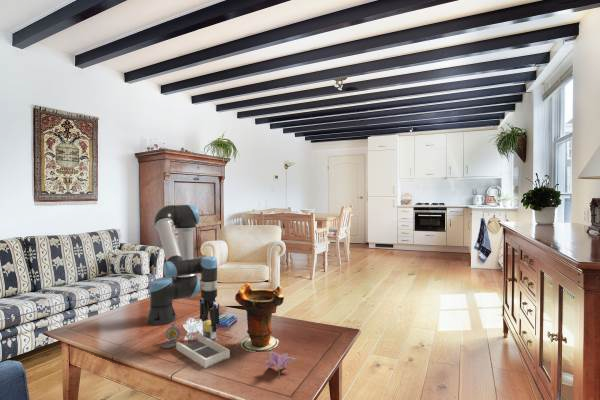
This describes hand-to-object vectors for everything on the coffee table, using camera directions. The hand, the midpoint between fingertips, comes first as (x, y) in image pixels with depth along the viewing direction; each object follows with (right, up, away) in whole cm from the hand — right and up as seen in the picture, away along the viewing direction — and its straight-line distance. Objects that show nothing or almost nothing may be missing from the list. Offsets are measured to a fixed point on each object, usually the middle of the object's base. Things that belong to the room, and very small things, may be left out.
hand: (209, 336), depth 163 cm
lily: (+36, -3, -29) cm, 46 cm away
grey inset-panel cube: (0, -2, 0) cm, 2 cm away
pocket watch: (-17, -2, -5) cm, 18 cm away
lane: (+1, -2, -14) cm, 14 cm away
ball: (0, +2, 0) cm, 2 cm away
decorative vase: (+25, -2, -4) cm, 25 cm away
